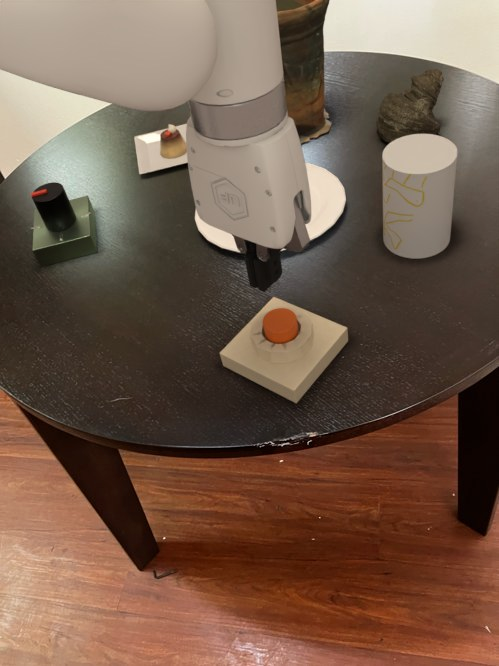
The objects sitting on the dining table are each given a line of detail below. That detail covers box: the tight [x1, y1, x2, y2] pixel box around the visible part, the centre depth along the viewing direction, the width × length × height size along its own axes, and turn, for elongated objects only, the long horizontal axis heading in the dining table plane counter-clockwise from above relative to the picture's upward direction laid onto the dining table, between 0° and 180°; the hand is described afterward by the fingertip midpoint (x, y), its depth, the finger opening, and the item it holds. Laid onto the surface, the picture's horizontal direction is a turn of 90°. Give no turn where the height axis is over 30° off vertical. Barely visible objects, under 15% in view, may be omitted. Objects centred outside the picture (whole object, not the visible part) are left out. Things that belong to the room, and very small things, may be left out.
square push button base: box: [219, 296, 349, 404], centre depth 70 cm, size 10×10×4 cm
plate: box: [194, 161, 347, 255], centre depth 89 cm, size 21×21×2 cm
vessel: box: [276, 0, 332, 144], centre depth 98 cm, size 14×14×20 cm
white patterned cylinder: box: [381, 134, 458, 260], centre depth 77 cm, size 8×8×12 cm
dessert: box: [133, 123, 188, 175], centre depth 103 cm, size 12×12×5 cm
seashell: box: [375, 68, 444, 144], centre depth 94 cm, size 11×12×10 cm
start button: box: [263, 308, 298, 344], centre depth 68 cm, size 4×4×2 cm
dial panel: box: [30, 195, 98, 268], centre depth 92 cm, size 10×9×3 cm
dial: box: [30, 181, 76, 231], centre depth 89 cm, size 4×4×5 cm
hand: (266, 280), depth 63 cm, fingers closed
